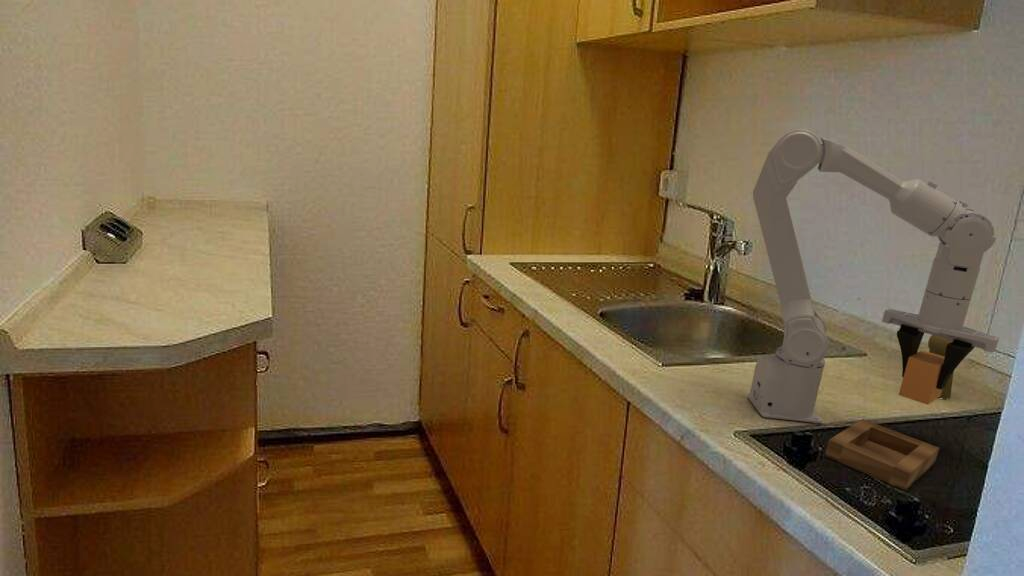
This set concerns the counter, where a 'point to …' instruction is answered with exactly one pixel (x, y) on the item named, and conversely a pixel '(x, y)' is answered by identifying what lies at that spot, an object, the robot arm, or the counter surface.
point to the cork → (939, 348)
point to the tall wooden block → (922, 377)
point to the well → (882, 453)
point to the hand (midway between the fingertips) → (923, 381)
